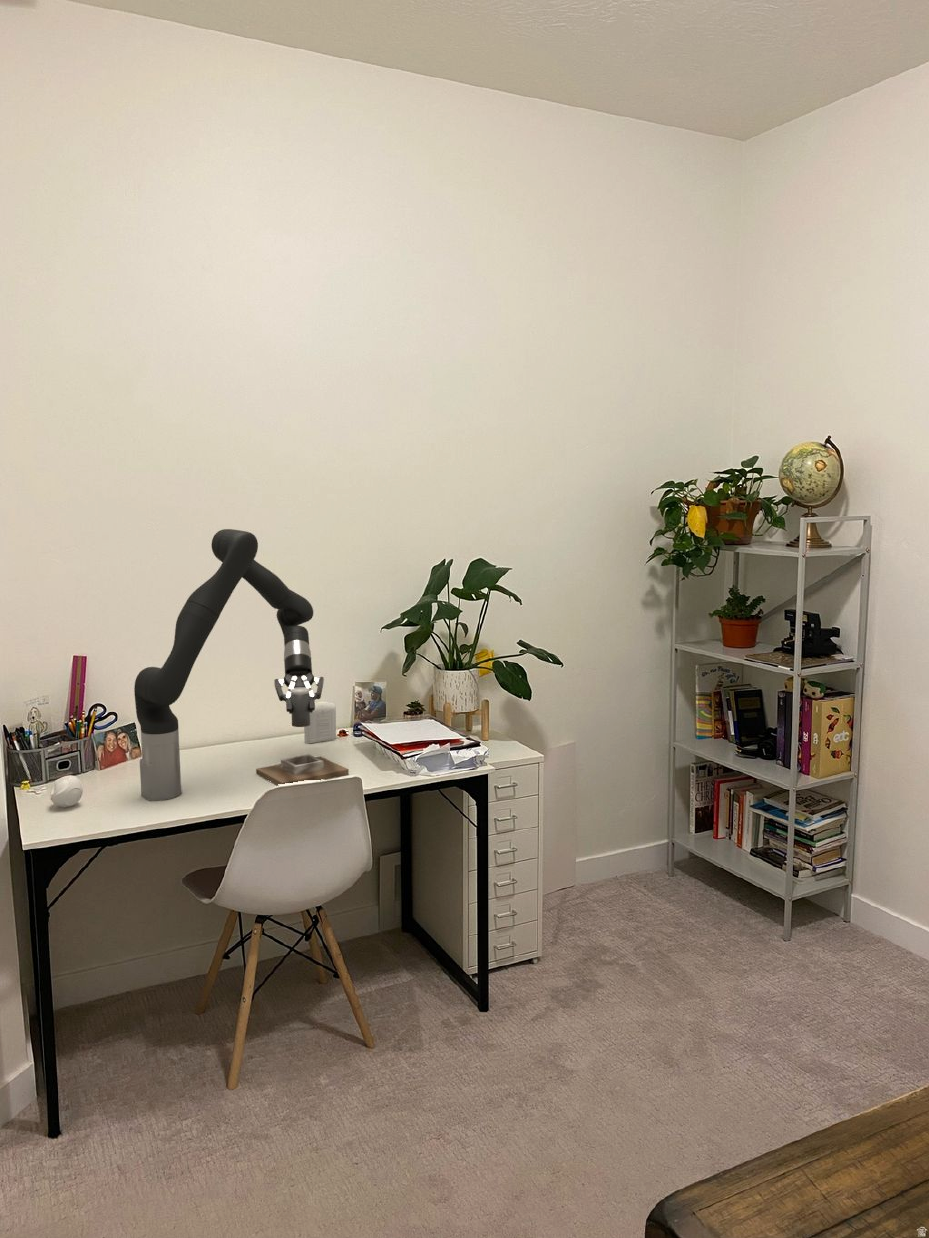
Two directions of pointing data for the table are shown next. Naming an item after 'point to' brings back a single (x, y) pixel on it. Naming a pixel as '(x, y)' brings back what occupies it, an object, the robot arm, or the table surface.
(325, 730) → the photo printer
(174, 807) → the table surface
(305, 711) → the dark grey cylinder
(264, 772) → the mount board
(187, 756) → the table surface
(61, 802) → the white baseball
